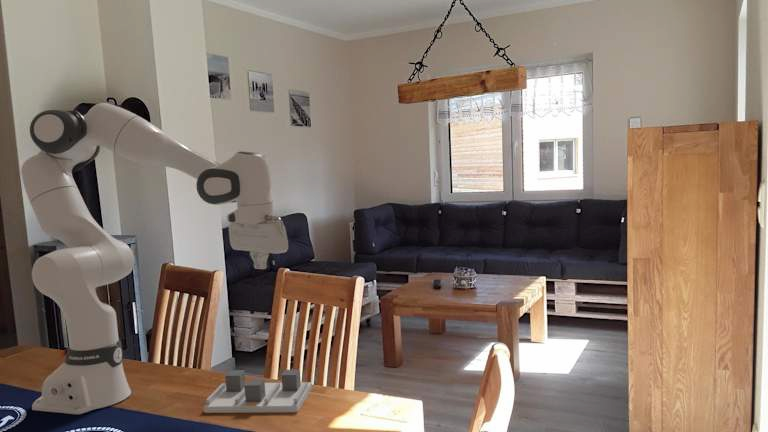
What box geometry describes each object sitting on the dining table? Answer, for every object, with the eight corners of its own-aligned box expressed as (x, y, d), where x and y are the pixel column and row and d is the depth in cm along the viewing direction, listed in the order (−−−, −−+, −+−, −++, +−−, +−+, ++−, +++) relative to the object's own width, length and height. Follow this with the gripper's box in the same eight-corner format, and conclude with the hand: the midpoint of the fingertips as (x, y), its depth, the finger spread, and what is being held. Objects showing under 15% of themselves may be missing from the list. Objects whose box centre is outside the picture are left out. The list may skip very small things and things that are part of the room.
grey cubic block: (245, 402, 140) (244, 385, 139) (250, 395, 143) (249, 379, 143) (260, 402, 139) (259, 385, 139) (265, 395, 143) (264, 379, 142)
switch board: (204, 412, 139) (203, 401, 139) (226, 388, 153) (225, 378, 152) (297, 412, 136) (296, 400, 136) (311, 388, 150) (311, 377, 150)
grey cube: (282, 391, 145) (281, 375, 145) (286, 385, 149) (285, 369, 148) (297, 391, 145) (296, 374, 144) (300, 385, 148) (299, 369, 148)
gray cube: (226, 391, 147) (225, 375, 146) (231, 385, 150) (230, 370, 150) (240, 391, 146) (239, 375, 146) (245, 385, 150) (244, 370, 149)
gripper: (291, 214, 149) (296, 269, 150) (243, 213, 163) (247, 263, 164) (271, 217, 144) (276, 274, 146) (223, 215, 158) (227, 267, 159)
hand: (260, 268), depth 155 cm, fingers closed
